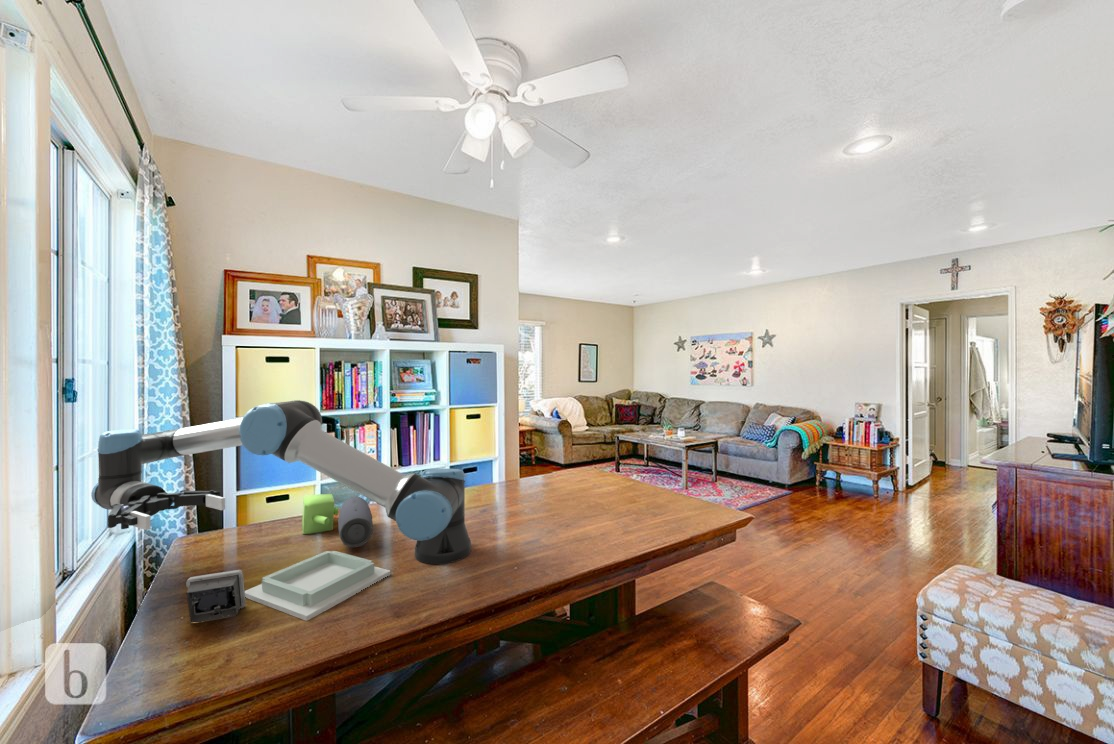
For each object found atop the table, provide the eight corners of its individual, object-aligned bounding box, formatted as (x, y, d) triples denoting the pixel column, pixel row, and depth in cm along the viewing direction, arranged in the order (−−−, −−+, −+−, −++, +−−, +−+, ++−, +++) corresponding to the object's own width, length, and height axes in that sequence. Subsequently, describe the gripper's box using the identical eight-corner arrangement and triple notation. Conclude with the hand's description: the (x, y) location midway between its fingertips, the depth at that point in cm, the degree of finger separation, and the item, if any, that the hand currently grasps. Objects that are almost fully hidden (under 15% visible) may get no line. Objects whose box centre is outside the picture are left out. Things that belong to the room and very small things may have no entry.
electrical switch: (246, 605, 95) (244, 564, 94) (240, 620, 90) (238, 577, 89) (192, 615, 91) (190, 573, 90) (182, 632, 86) (180, 587, 85)
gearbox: (339, 535, 136) (341, 505, 136) (302, 540, 131) (304, 508, 130) (335, 517, 151) (336, 489, 151) (302, 521, 146) (303, 492, 146)
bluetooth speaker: (374, 548, 124) (374, 513, 124) (338, 554, 120) (337, 518, 120) (370, 523, 145) (370, 492, 145) (338, 527, 141) (338, 496, 141)
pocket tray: (390, 574, 109) (390, 560, 109) (306, 620, 89) (306, 603, 89) (330, 558, 118) (330, 545, 118) (242, 596, 98) (242, 580, 98)
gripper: (201, 501, 115) (249, 513, 106) (63, 533, 93) (110, 551, 84) (201, 472, 115) (249, 482, 106) (63, 497, 93) (110, 512, 83)
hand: (188, 512), depth 95 cm, fingers open, 13 cm apart
